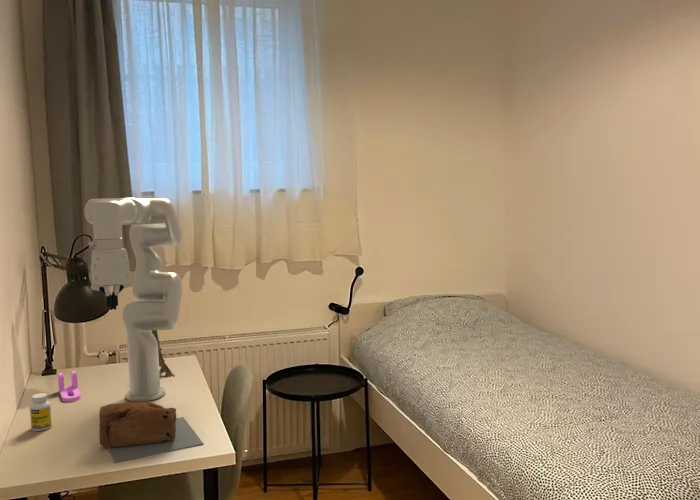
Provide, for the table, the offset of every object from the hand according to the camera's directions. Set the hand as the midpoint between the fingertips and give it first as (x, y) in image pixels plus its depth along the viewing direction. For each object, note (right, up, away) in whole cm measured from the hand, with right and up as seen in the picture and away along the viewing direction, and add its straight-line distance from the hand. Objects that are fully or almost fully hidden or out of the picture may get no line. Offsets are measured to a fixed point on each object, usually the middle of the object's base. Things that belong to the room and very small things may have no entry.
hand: (112, 308), depth 190 cm
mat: (+12, -36, -4) cm, 38 cm away
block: (0, -31, -9) cm, 32 cm away
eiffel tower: (-3, -29, +53) cm, 61 cm away
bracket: (-25, -32, +32) cm, 52 cm away
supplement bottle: (-22, -35, +5) cm, 42 cm away
